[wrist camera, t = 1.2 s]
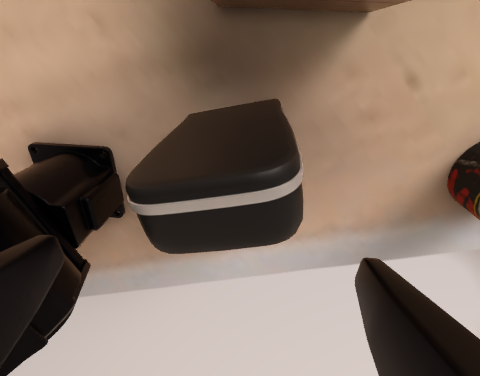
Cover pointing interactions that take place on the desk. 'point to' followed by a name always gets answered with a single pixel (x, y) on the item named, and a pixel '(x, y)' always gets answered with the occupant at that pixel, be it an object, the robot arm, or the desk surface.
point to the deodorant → (467, 180)
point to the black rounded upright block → (221, 182)
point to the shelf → (313, 4)
